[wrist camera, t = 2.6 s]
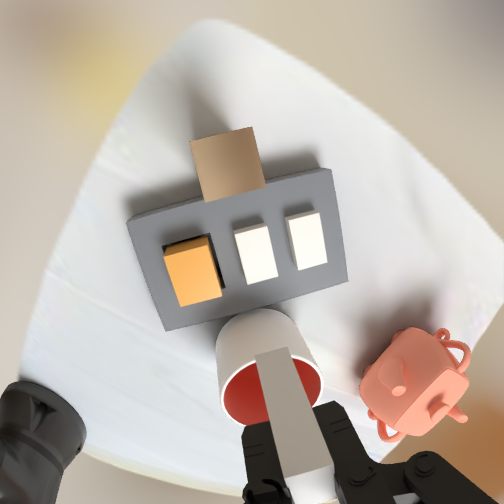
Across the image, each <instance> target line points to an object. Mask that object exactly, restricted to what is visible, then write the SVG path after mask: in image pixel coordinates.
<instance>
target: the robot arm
mask: <svg viewBox="0 0 504 504" xmlns="http://www.w3.org/2000/svg"><path fill="white" fill-rule="evenodd" d="M254 356H255V360H256V365H257V369H258V373H259V377H260V382H261V386H262V390H263V394H264V399H265V403H266V407H267V411H268V415H269V419H270V420H269V421H265V422H261V423H257V424H252V425H248V426H245V428H244V431H243V434H242V436H241V439H242V445H243V452H244V458H245V466H246V472H247V479H248V483H247V484H246V486H245V488H244V489H243V495H242V498H243V499H244V501H245V503H244V504H320V503H324V502H327V501H330V500H333V499H336V498H337V497H338V500H339V503H340V504H498V503H497V502H496V501H495V500H493V499H492V498H491V497H490V496H488V495H487V494H486V493H485V492H483V491H482V490H481V489H480V488H479V487H477V486H476V485H475V484H474V483H472V482H471V481H470V480H469V479H468V478H466V477H465V476H464V475H463V474H461V473H460V472H459V471H458V470H457V469H456V468H454V467H453V466H452V465H451V464H450V463H448V462H447V461H446V460H445V459H444V458H442V457H441V456H440V455H439V454H437V453H435V452H432V451H423V452H418V453H416V454H415V455H413V456H411V458H410V459H409V460H408V461H407V462H402V463H395V464H381V463H377V462H375V461H373V460H372V459H371V458H370V457H369V456H368V454H367V453H366V451H365V449H364V447H363V445H362V443H361V441H360V439H359V437H358V435H357V433H356V431H355V429H354V427H353V425H352V423H351V421H350V419H349V417H348V415H347V413H346V411H345V409H344V407H342V406H341V405H340V404H338V403H337V402H336V401H331V402H328V403H325V404H322V405H319V406H316V407H312V408H311V405H310V402H309V400H308V397H307V395H306V392H305V390H304V387H303V385H302V382H301V380H300V377H299V375H298V372H297V370H296V367H295V365H294V362H293V360H292V357H291V355H290V352H289V350H288V347H283V348H280V349H276V350H273V351H269V352H265V353H261V354H258V355H254ZM85 439H86V428H85V425H84V423H83V421H82V419H81V418H80V416H79V415H78V413H77V412H76V411H75V410H74V409H73V408H72V407H71V406H70V405H69V404H68V403H67V402H66V401H65V400H63V399H62V398H61V397H59V396H58V395H56V394H55V393H53V392H52V391H50V390H48V389H46V388H44V387H42V386H39V385H37V384H34V383H30V382H23V381H19V382H14V383H11V384H10V385H8V387H7V388H6V389H5V391H4V392H3V394H2V396H1V398H0V504H55V502H56V498H57V494H58V490H59V486H60V483H61V479H62V475H63V472H64V470H65V469H66V467H67V466H68V465H69V464H70V463H71V462H72V460H73V459H74V458H75V456H76V455H77V454H78V453H79V452H80V451H81V450H82V448H83V445H84V442H85Z"/></svg>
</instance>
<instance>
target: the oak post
mask: <svg viewBox="0 0 504 504" xmlns="http://www.w3.org/2000/svg"><path fill="white" fill-rule="evenodd" d="M190 146H191V150H192V154H193V158H194V162H195V166H196V170H197V174H198V177H199V181H200V185H201V189H202V193H203V197H204V200H205V203H206V202H210V201H214V200H218V199H221V198H225V197H229V196H233V195H237V194H241V193H245V192H249V191H253V190H257V189H261V188H265V187H266V184H265V179H264V175H263V170H262V166H261V162H260V157H259V153H258V149H257V145H256V140H255V136H254V132H253V128H252V127H248V128H243V129H239V130H234V131H230V132H226V133H222V134H217V135H213V136H209V137H206V138H202V139H198V140H194V141H190Z"/></svg>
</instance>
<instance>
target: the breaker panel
mask: <svg viewBox="0 0 504 504" xmlns="http://www.w3.org/2000/svg"><path fill="white" fill-rule="evenodd" d="M265 184H266V187H265V188H261V189H257V190H253V191H249V192H245V193H241V194H237V195H233V196H229V197H225V198H221V199H218V200H214V201H210V202H206V203H205V200H204V197H203V196H201V197H197V198H194V199H190V200H186V201H183V202H179V203H176V204H172V205H169V206H165V207H162V208H158V209H155V210H152V211H148V212H145V213H142V214H138V215H135V216H132V217H131V218H130V219H129V220H128V221H127V222H126V224H127V227H128V230H129V233H130V237H131V240H132V243H133V246H134V249H135V252H136V254H137V257H138V260H139V263H140V266H141V269H142V272H143V274H144V277H145V280H146V283H147V285H148V288H149V291H150V293H151V296H152V299H153V301H154V304H155V306H156V309H157V312H158V314H159V317H160V319H161V322H162V324H163V326H164V329H165V331H170V330H175V329H179V328H183V327H187V326H191V325H195V324H199V323H203V322H207V321H211V320H215V319H219V318H223V317H226V316H230V315H234V314H238V313H242V312H245V311H249V310H253V309H256V308H260V307H264V306H267V305H271V304H274V303H278V302H281V301H285V300H288V299H292V298H295V297H299V296H302V295H305V294H309V293H312V292H315V291H319V290H322V289H325V288H328V287H332V286H335V285H338V284H341V283H345V282H348V275H347V267H346V259H345V251H344V244H343V237H342V230H341V223H340V217H339V211H338V205H337V199H336V193H335V187H334V181H333V176H332V171H331V169H326V168H317V169H312V170H308V171H303V172H298V173H294V174H289V175H285V176H281V177H276V178H272V179H268V180H265ZM206 233H210V234H211V237H212V241H213V244H214V248H215V252H216V255H217V259H218V262H219V266H220V269H221V273H222V276H223V277H222V278H219V279H220V282H221V290H222V296H221V297H217V298H214V299H210V300H206V301H202V302H198V303H194V304H190V305H186V306H183V307H180V304H179V301H178V298H177V296H176V293H175V290H174V287H173V284H172V281H171V278H170V275H169V272H168V269H167V266H166V263H165V260H164V254H165V251H166V249H167V244H170V243H174V242H177V241H181V240H184V239H188V238H192V237H195V236H199V235H203V234H206Z"/></svg>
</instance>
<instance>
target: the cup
mask: <svg viewBox="0 0 504 504" xmlns="http://www.w3.org/2000/svg"><path fill="white" fill-rule="evenodd" d="M283 347H288V350H289V352H290V355H291V357H292V360H293V362H294V365H295V367H296V370H297V372H298V375H299V377H300V380H301V382H302V385H303V387H304V390H305V392H306V395H307V397H308V400H309V402H310V405H311V408H312V407H314V406H315V405H316V404H317V402H318V401H319V399H320V397H321V395H322V391H323V385H324V382H323V376H322V373H321V371H320V369H319V367H318V366H317V364H316V362H315V360H314V358H313V356H312V354H311V352H310V350H309V348H308V347H307V345H306V343H305V341H304V339H303V337H302V335H301V333H300V332H299V330H298V328H297V326H296V324H295V323H294V322H293V321H292V320H291V319H290V318H289V317H288V316H286V315H285V314H283V313H281V312H279V311H276V310H272V309H262V308H260V309H253V310H249V311H245V312H242V313H240V314H238V315H236V316H235V317H233V318H232V319H230V320H229V321H228V322H227V323H226V324H225V325H224V326H223V328H222V329H221V331H220V333H219V335H218V337H217V340H216V348H215V349H216V362H217V373H218V384H219V394H220V403H221V406H222V409H223V411H224V412H225V414H226V415H227V416H228V417H229V418H230V419H231V420H233V421H234V422H236V423H237V424H239V425H242V426H248V425H252V424H257V423H261V422H265V421H269V420H270V419H269V415H268V411H267V407H266V403H265V399H264V394H263V390H262V386H261V382H260V377H259V373H258V369H257V365H256V360H255V356H254V355H258V354H261V353H265V352H269V351H273V350H276V349H280V348H283Z"/></svg>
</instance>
